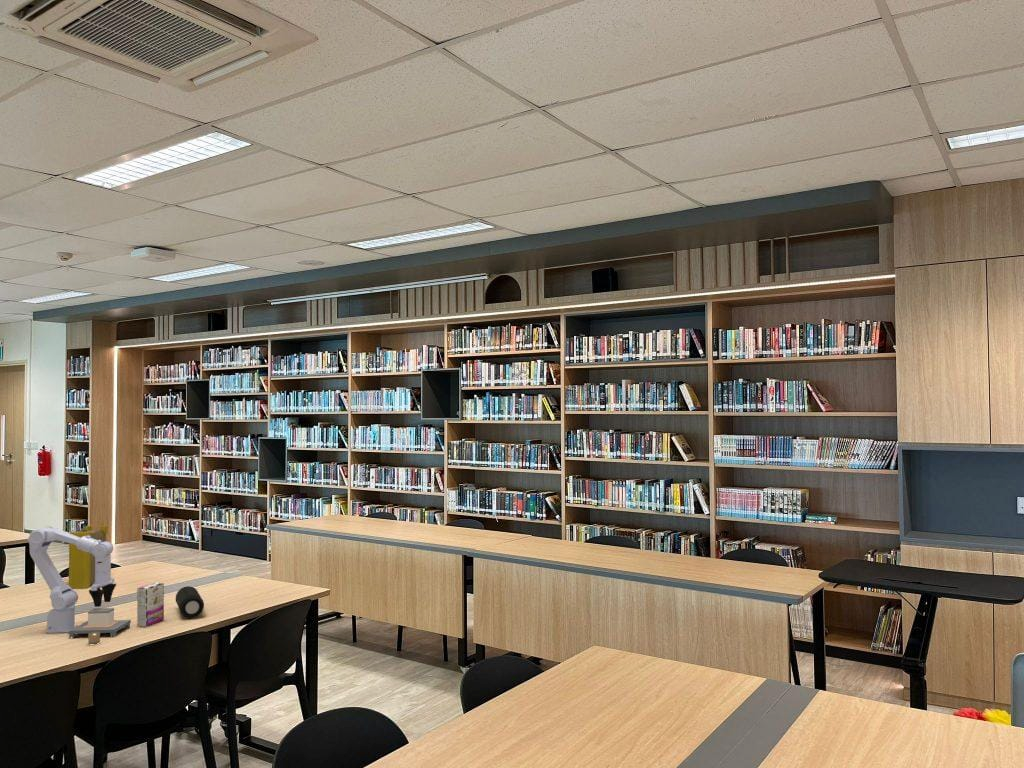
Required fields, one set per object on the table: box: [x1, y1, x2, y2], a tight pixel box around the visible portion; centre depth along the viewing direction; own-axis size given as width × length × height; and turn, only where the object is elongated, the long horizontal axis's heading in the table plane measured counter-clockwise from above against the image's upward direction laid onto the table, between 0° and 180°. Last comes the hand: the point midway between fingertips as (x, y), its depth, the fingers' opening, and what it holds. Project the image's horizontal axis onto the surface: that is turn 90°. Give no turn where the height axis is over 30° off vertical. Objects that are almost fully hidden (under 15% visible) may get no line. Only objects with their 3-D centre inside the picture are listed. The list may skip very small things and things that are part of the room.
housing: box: [87, 607, 115, 627], centre depth 301 cm, size 5×8×6 cm, turn 93°
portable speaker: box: [175, 585, 205, 619], centre depth 331 cm, size 26×10×10 cm, turn 29°
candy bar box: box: [136, 581, 165, 628], centre depth 314 cm, size 11×5×16 cm, turn 168°
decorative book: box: [68, 525, 109, 589], centre depth 392 cm, size 20×11×30 cm, turn 0°
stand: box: [68, 619, 132, 639], centre depth 301 cm, size 18×14×3 cm
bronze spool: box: [87, 632, 101, 645], centre depth 287 cm, size 4×4×4 cm
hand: (102, 604), depth 307 cm, fingers open, 7 cm apart
